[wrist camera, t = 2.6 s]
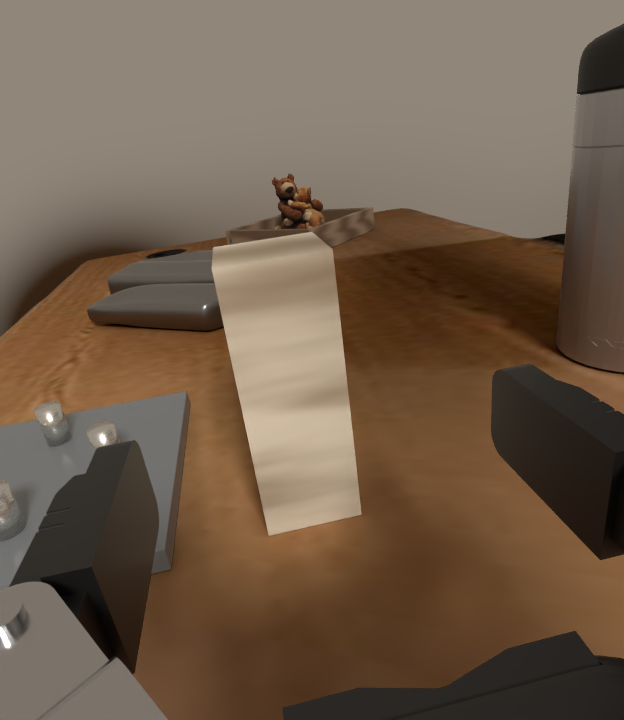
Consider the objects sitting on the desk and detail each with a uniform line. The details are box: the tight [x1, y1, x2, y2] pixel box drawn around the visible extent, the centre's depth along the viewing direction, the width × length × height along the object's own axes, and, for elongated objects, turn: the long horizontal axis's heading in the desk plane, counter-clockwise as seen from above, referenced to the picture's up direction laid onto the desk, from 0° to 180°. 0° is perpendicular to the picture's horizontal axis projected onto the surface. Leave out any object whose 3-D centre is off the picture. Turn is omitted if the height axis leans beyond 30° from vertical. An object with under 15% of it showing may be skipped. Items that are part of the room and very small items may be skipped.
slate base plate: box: [0, 391, 190, 591], centre depth 28 cm, size 16×16×4 cm
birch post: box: [212, 232, 362, 536], centre depth 23 cm, size 5×5×13 cm
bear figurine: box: [272, 174, 327, 229], centre depth 91 cm, size 14×15×12 cm
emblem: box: [87, 250, 224, 331], centre depth 63 cm, size 28×5×28 cm
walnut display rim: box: [226, 208, 375, 248], centre depth 92 cm, size 20×19×4 cm
